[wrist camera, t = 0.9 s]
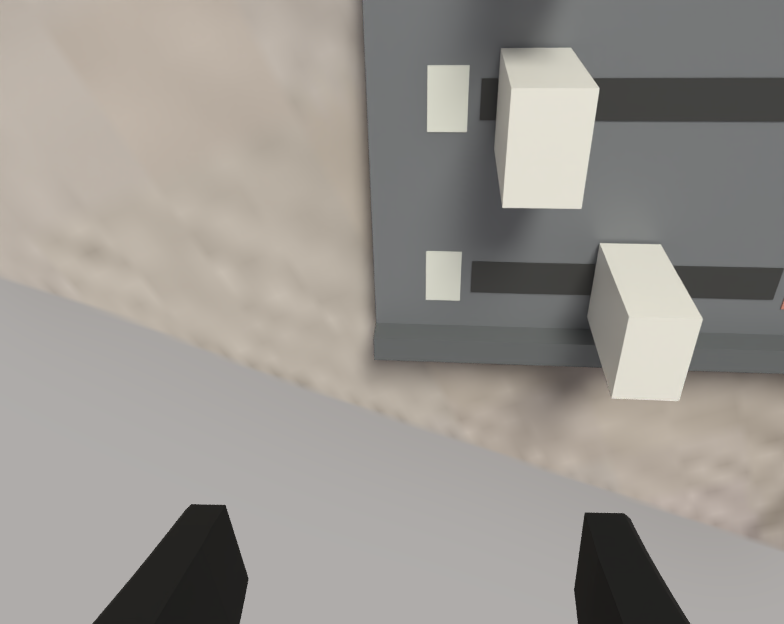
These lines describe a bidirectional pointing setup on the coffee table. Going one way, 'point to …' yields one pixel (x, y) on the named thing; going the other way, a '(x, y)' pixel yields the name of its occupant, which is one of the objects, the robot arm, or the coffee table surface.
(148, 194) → the coffee table surface
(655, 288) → the block
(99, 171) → the coffee table surface
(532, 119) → the block
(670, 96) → the breaker panel
